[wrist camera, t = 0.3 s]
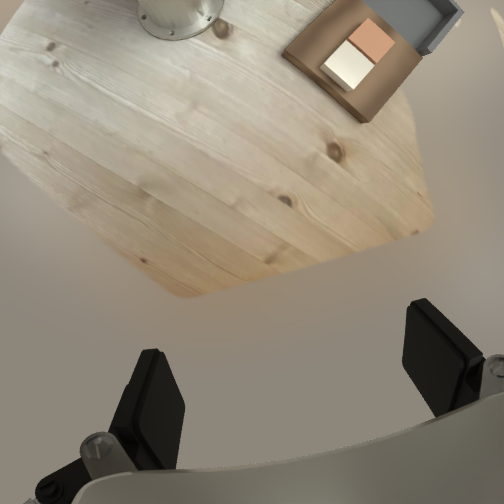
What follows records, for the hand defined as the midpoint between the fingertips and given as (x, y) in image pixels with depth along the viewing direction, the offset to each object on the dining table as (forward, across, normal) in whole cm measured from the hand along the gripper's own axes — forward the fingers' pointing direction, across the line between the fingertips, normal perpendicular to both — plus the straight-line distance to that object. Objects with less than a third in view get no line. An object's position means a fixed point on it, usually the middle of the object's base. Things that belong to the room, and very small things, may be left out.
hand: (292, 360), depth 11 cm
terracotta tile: (+32, -19, -20) cm, 43 cm away
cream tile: (+32, -15, -17) cm, 39 cm away
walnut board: (+35, -18, -20) cm, 44 cm away
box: (+35, -30, -29) cm, 55 cm away
